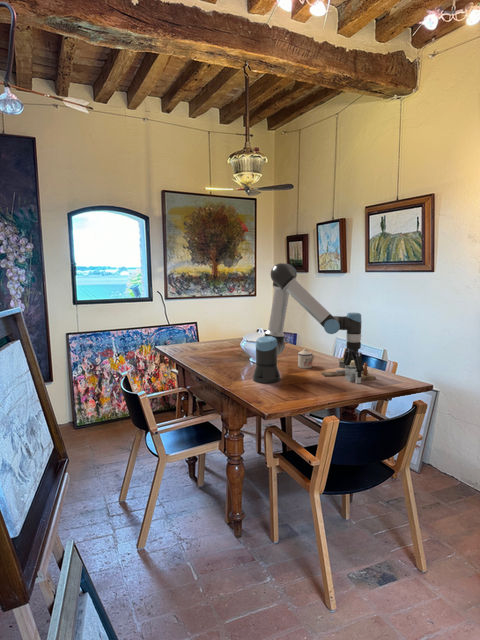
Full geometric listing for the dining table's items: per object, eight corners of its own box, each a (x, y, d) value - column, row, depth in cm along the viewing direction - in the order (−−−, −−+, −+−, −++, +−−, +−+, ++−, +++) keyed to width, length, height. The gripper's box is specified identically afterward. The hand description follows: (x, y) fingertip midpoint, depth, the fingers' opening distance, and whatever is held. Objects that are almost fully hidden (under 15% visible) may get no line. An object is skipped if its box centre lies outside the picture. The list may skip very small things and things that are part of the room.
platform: (338, 364, 251) (338, 354, 250) (363, 369, 238) (364, 358, 238) (327, 367, 243) (328, 357, 242) (353, 373, 230) (354, 362, 229)
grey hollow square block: (350, 382, 209) (350, 369, 209) (345, 379, 215) (345, 366, 215) (360, 381, 210) (360, 368, 210) (355, 378, 216) (355, 366, 216)
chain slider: (337, 372, 223) (338, 362, 222) (335, 371, 227) (335, 361, 226) (358, 371, 225) (359, 361, 224) (355, 370, 229) (356, 360, 228)
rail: (324, 376, 221) (325, 372, 220) (321, 374, 227) (321, 370, 226) (367, 374, 225) (367, 370, 225) (362, 371, 231) (362, 367, 231)
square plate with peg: (362, 380, 213) (362, 365, 212) (355, 376, 221) (355, 361, 220) (375, 379, 214) (375, 364, 213) (368, 375, 222) (368, 361, 221)
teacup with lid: (304, 369, 238) (305, 350, 236) (294, 366, 245) (294, 348, 244) (318, 366, 245) (318, 348, 243) (308, 364, 252) (308, 346, 251)
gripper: (371, 344, 199) (370, 385, 202) (350, 337, 223) (349, 373, 225) (357, 345, 198) (356, 386, 200) (337, 337, 222) (337, 374, 224)
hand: (352, 379), depth 213 cm, fingers open, 12 cm apart
